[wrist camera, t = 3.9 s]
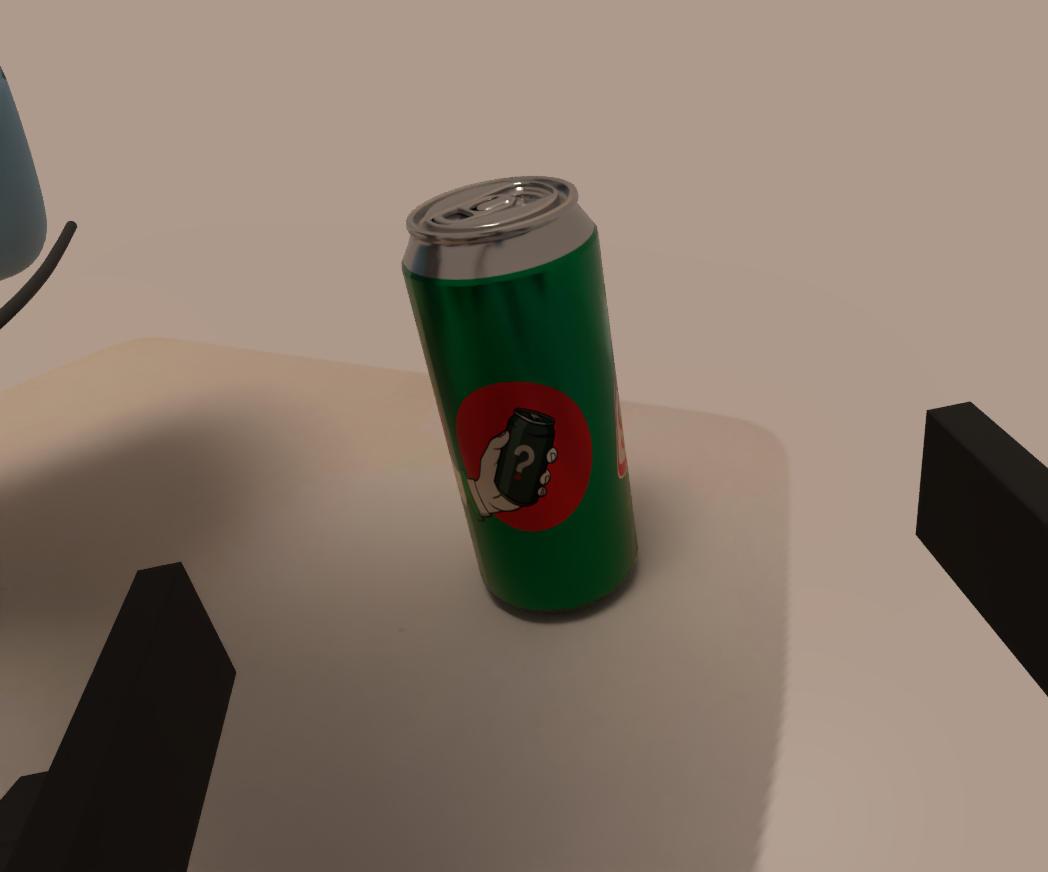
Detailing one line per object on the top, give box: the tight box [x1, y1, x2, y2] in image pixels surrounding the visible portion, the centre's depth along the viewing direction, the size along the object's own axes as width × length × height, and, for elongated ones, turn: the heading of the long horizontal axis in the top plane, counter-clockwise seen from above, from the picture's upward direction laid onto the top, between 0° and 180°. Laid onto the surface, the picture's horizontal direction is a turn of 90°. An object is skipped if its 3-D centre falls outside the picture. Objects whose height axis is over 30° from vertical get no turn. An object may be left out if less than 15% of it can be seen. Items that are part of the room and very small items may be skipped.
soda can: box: [402, 176, 638, 614], centre depth 24 cm, size 5×5×12 cm
